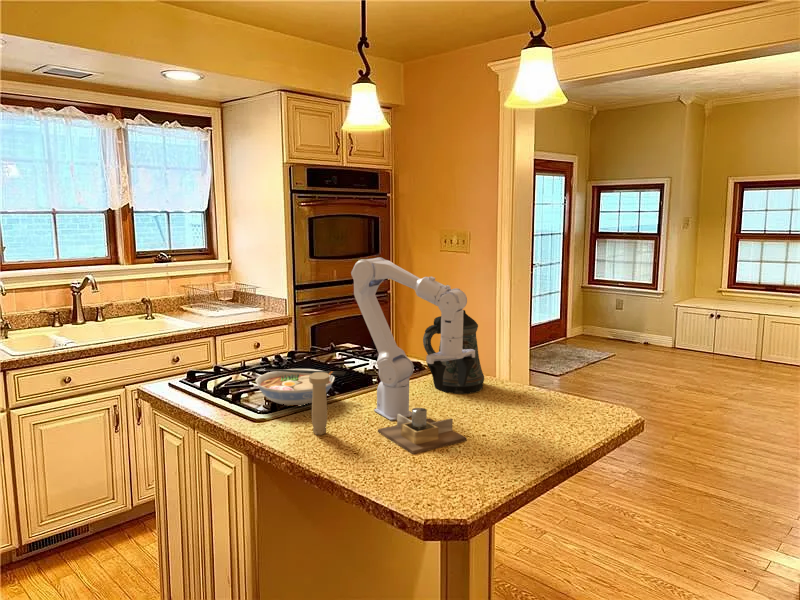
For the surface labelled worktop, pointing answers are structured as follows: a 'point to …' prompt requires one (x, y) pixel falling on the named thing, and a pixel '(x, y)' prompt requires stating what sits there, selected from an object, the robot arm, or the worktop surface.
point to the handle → (319, 401)
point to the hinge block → (422, 435)
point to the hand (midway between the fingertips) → (450, 386)
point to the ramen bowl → (291, 385)
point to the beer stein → (451, 370)
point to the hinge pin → (419, 419)
